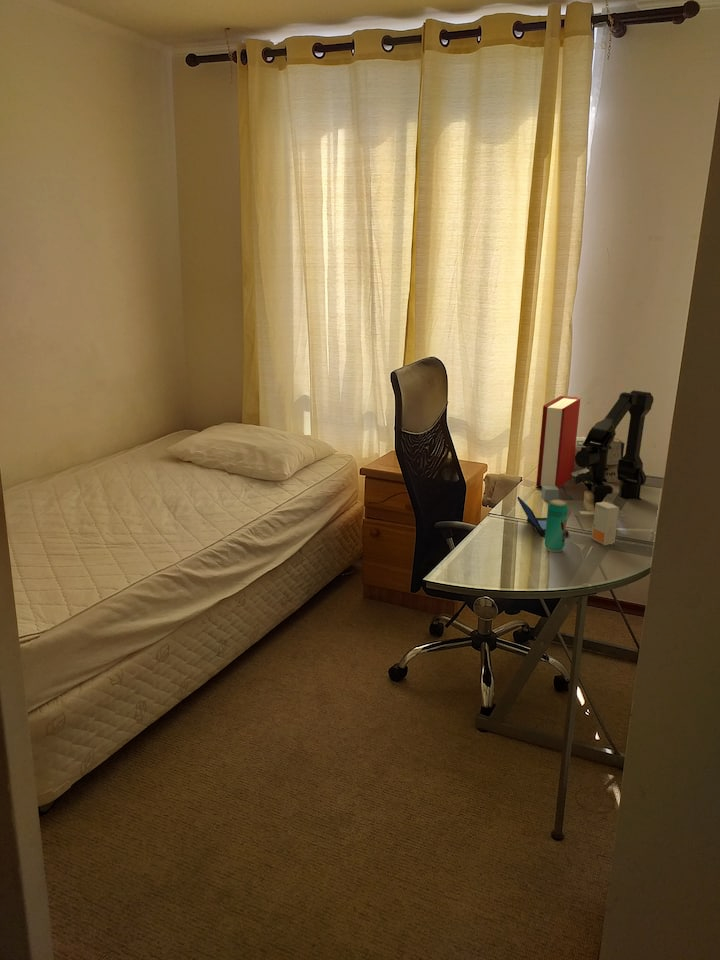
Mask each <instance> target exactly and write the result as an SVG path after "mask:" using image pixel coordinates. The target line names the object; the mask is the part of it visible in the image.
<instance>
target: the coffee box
mask: <svg viewBox="0 0 720 960" xmlns="http://www.w3.org/2000/svg"><path fill="white" fill-rule="evenodd" d="M610 446H611V447H612V448H611V449H609V450H608V458H607V467H608V471H607V470H606V476H605V478H606V479H607V482H606V483H620V482H621V480H618V475H617V468H618V461H619V459H622V458H623V456H624V452H625V451H624V449H625V442H624V441H622V440H620V439H619V438H614V439H613V441H612V442H611V443H610Z"/></svg>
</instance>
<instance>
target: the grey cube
mask: <svg viewBox="0 0 720 960" xmlns="http://www.w3.org/2000/svg"><path fill="white" fill-rule="evenodd" d="M559 494H560V488H559V489H558V488H557V487H556V486H542V487H541V495H540V496H541V497H540V498H541V499H542V500H543V501H544V502H549V501H550V500H553V499H558V500H559V498H560V497H559Z"/></svg>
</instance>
